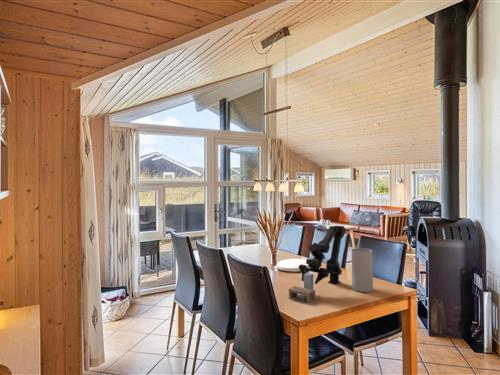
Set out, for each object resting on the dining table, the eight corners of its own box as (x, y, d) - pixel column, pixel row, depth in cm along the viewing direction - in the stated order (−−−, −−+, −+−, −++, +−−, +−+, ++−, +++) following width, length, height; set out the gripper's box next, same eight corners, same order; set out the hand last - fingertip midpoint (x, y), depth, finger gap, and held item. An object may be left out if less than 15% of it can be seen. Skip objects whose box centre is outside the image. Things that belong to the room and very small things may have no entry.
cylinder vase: (364, 285, 221) (363, 247, 221) (377, 291, 209) (376, 250, 209) (348, 288, 217) (347, 249, 216) (360, 293, 205) (360, 252, 205)
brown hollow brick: (295, 294, 206) (295, 286, 205) (315, 299, 196) (315, 290, 196) (288, 298, 200) (288, 288, 200) (309, 303, 191) (309, 293, 191)
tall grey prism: (306, 293, 207) (305, 272, 207) (314, 295, 203) (314, 274, 203) (296, 298, 199) (295, 276, 199) (305, 300, 195) (304, 278, 195)
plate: (298, 268, 250) (269, 264, 267) (299, 277, 251) (270, 272, 268) (316, 257, 272) (288, 254, 288) (317, 265, 272) (289, 261, 289)
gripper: (299, 251, 214) (290, 272, 206) (326, 255, 201) (317, 277, 193) (306, 261, 220) (297, 282, 212) (332, 265, 208) (324, 288, 199)
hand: (308, 282), depth 204 cm, fingers open, 9 cm apart
